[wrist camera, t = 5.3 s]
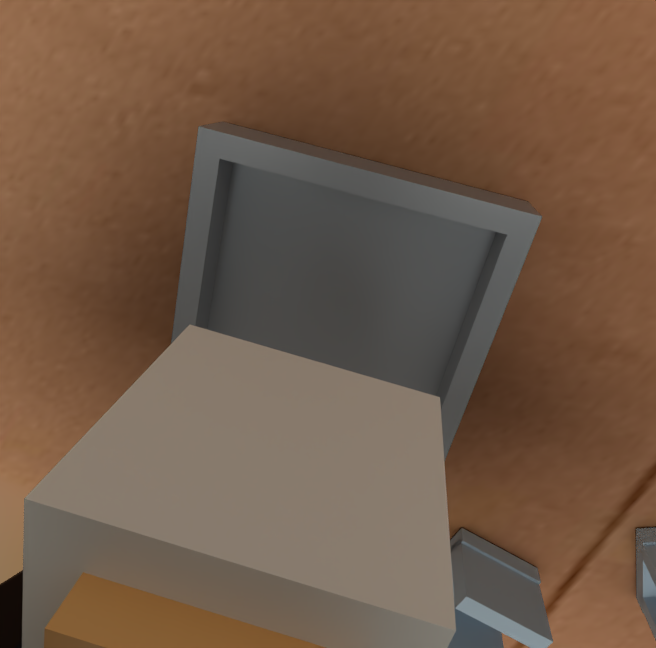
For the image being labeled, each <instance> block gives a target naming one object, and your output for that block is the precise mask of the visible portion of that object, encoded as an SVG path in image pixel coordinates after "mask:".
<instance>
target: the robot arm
mask: <svg viewBox="0 0 656 648" xmlns="http://www.w3.org/2000/svg"><path fill="white" fill-rule="evenodd" d="M22 605H23V570H22V571H21V572H19V573H17V574H16V575H14V576H13V577H11V578H10V579H8V580H7V581H5V582H3V583H1V584H0V648H22Z"/></svg>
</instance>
